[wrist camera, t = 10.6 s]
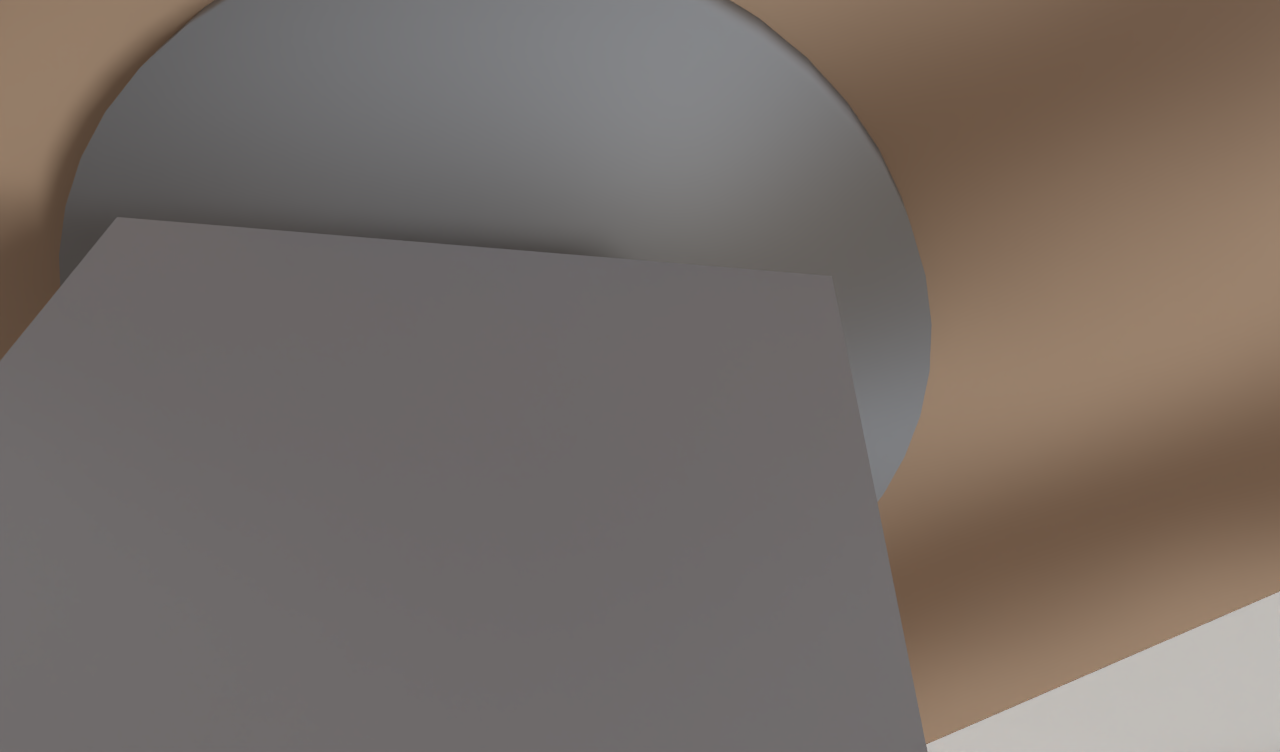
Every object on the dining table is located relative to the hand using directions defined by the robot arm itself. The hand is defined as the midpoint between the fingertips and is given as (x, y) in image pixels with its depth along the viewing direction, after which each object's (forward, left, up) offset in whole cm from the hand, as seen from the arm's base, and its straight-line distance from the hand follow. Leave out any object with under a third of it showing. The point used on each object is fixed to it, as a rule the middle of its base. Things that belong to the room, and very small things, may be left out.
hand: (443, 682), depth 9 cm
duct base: (0, 0, -5) cm, 5 cm away
